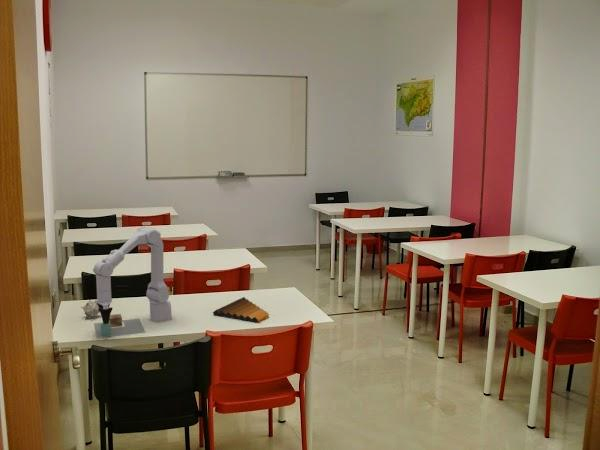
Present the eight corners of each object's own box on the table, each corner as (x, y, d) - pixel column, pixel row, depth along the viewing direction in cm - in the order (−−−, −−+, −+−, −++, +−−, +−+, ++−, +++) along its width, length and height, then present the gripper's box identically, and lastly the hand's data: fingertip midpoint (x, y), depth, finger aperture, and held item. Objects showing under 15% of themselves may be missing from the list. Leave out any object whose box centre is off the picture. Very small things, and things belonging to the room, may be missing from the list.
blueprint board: (139, 320, 278) (139, 318, 278) (145, 334, 260) (145, 331, 260) (93, 325, 271) (93, 323, 271) (96, 339, 253) (96, 337, 252)
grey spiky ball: (91, 326, 280) (80, 313, 274) (85, 315, 286) (75, 302, 279) (108, 315, 283) (98, 302, 276) (102, 305, 289) (92, 292, 282)
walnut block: (120, 322, 272) (120, 313, 271) (122, 325, 267) (121, 317, 267) (109, 323, 270) (108, 315, 269) (110, 327, 265) (110, 318, 265)
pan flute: (241, 302, 308) (212, 316, 286) (241, 296, 308) (212, 309, 286) (283, 309, 297) (258, 324, 275) (284, 303, 297) (258, 317, 275)
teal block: (110, 331, 260) (110, 322, 259) (111, 334, 256) (110, 325, 256) (100, 332, 259) (100, 323, 258) (101, 335, 255) (101, 326, 254)
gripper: (92, 286, 260) (94, 316, 262) (95, 295, 246) (96, 327, 248) (110, 285, 262) (111, 315, 264) (113, 293, 249) (114, 325, 251)
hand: (105, 320), depth 257 cm, fingers open, 7 cm apart
